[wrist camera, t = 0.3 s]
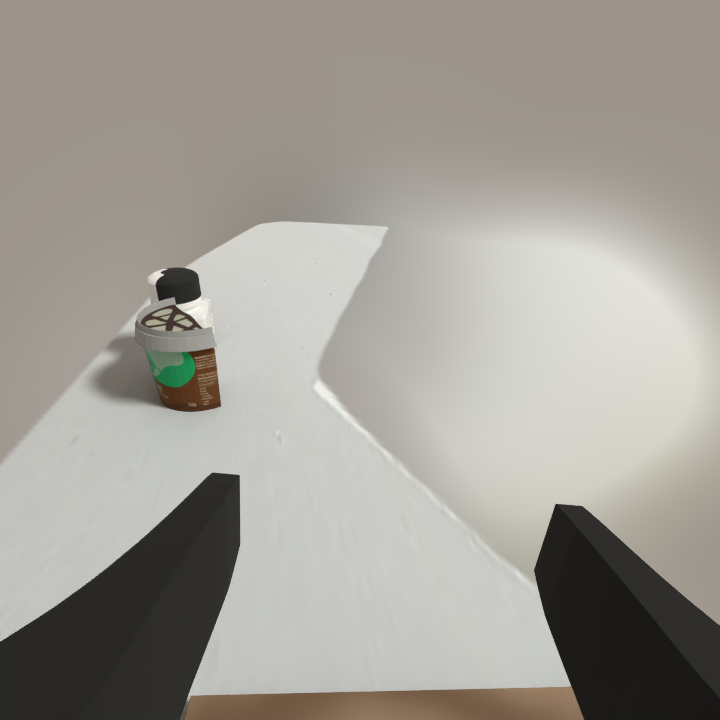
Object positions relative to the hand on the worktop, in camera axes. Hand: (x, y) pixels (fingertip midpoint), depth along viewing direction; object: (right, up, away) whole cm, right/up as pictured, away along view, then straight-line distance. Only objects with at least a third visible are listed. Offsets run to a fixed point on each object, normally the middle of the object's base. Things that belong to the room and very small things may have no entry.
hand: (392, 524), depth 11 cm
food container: (-22, -1, +45) cm, 50 cm away
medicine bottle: (-24, +4, +54) cm, 59 cm away
